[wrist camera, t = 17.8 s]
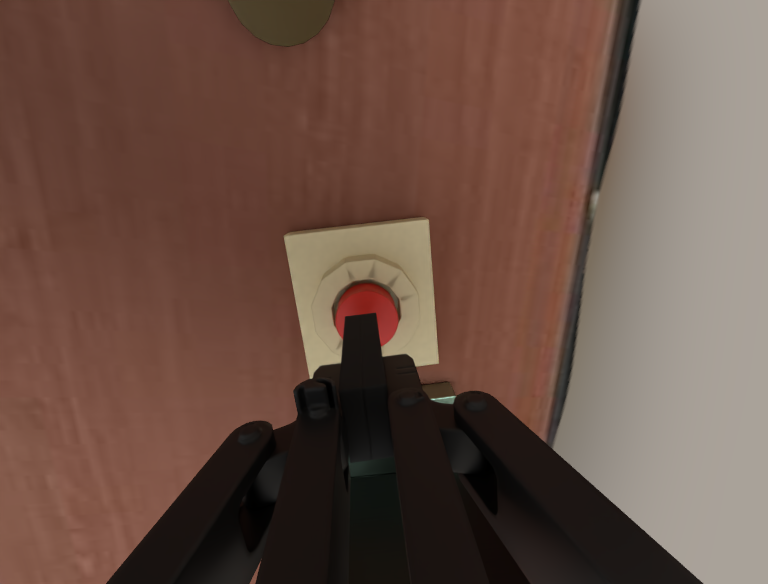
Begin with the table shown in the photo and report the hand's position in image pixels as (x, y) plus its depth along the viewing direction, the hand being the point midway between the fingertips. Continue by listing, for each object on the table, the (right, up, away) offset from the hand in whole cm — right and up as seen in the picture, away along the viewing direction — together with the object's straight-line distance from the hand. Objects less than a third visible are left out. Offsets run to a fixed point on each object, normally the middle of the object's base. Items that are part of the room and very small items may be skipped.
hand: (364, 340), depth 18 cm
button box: (0, +2, +8) cm, 8 cm away
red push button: (0, +1, +5) cm, 5 cm away
